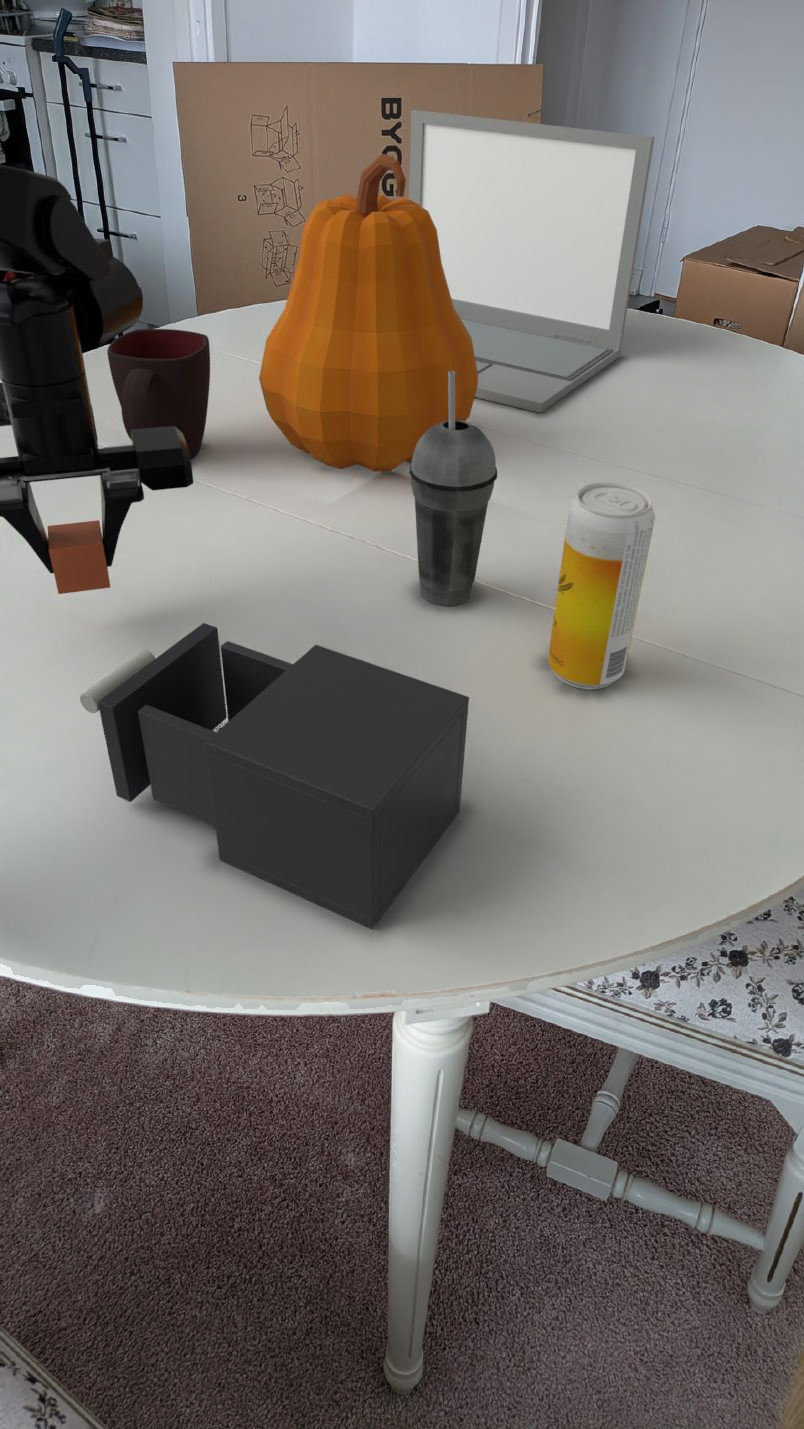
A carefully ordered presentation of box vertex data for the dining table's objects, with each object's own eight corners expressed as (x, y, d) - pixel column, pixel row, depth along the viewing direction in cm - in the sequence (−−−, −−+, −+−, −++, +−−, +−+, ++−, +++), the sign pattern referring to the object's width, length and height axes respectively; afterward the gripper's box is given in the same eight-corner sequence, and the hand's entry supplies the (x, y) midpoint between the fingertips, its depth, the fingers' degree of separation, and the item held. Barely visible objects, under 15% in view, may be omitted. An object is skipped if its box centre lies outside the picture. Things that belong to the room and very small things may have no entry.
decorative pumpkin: (514, 465, 111) (544, 159, 92) (324, 511, 101) (315, 179, 82) (404, 396, 126) (411, 124, 108) (230, 430, 116) (206, 136, 98)
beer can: (577, 641, 83) (605, 472, 74) (638, 672, 80) (675, 499, 70) (531, 669, 80) (553, 496, 70) (592, 703, 76) (624, 526, 67)
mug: (228, 440, 114) (219, 332, 107) (188, 492, 103) (175, 376, 96) (145, 432, 115) (130, 325, 108) (97, 483, 104) (77, 368, 97)
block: (56, 569, 81) (47, 525, 79) (106, 563, 82) (99, 520, 80) (58, 594, 78) (48, 549, 76) (110, 587, 79) (102, 543, 77)
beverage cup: (501, 587, 90) (523, 364, 77) (461, 623, 85) (478, 391, 72) (432, 564, 93) (442, 346, 80) (389, 598, 88) (393, 371, 75)
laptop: (310, 358, 137) (303, 130, 120) (409, 313, 155) (415, 109, 138) (540, 413, 123) (569, 165, 106) (620, 357, 141) (655, 136, 124)
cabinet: (219, 860, 62) (204, 741, 56) (319, 756, 70) (315, 644, 65) (372, 929, 58) (373, 810, 52) (459, 811, 66) (469, 696, 61)
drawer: (69, 774, 67) (46, 681, 62) (168, 695, 74) (155, 605, 69) (240, 851, 62) (230, 755, 57) (330, 757, 69) (327, 665, 64)
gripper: (164, 329, 79) (185, 510, 88) (-91, 346, 74) (-39, 535, 84) (182, 377, 70) (203, 571, 80) (-104, 399, 66) (-45, 602, 75)
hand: (81, 567), depth 80 cm, fingers closed on block, 4 cm apart
